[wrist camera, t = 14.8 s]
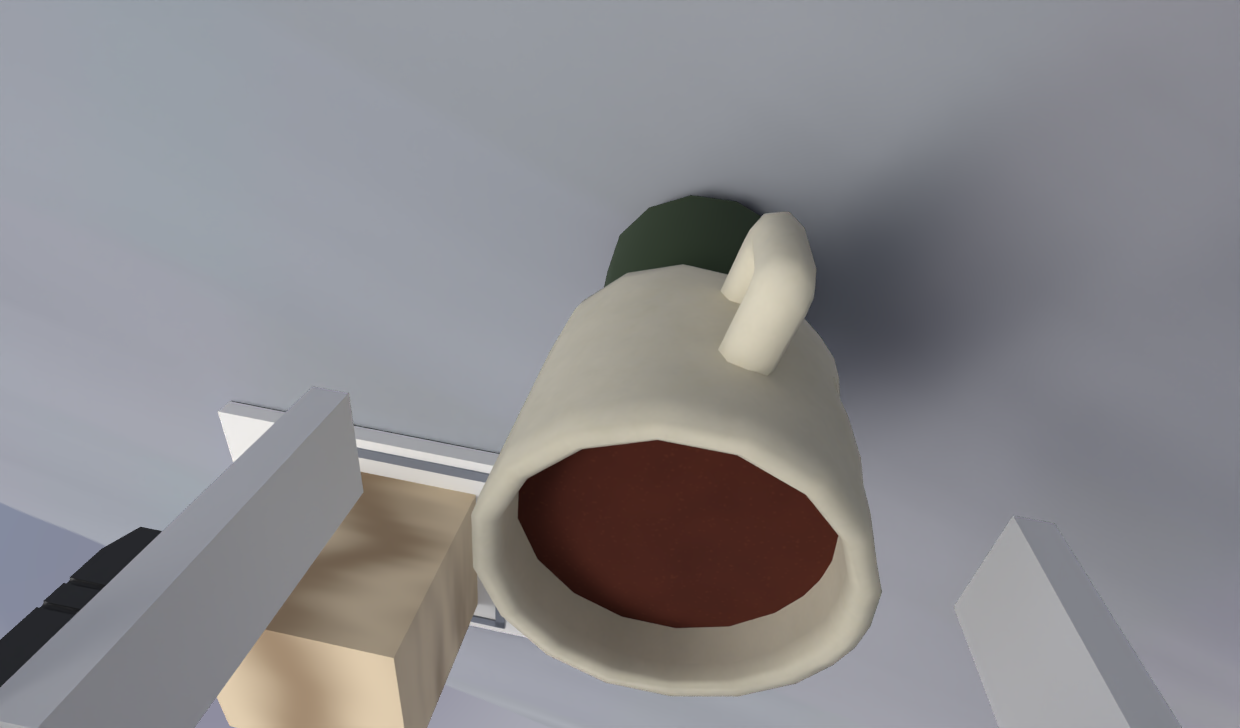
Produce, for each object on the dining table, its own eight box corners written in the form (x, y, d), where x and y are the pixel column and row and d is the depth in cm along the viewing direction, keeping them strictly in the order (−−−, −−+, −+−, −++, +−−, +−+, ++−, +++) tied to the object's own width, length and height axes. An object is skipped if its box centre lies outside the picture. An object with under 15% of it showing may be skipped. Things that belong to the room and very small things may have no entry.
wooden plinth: (475, 494, 28) (393, 657, 21) (477, 604, 32) (410, 768, 25) (308, 461, 28) (177, 610, 22) (333, 573, 33) (229, 725, 26)
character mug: (731, 424, 24) (730, 779, 14) (563, 364, 24) (426, 677, 13) (876, 164, 19) (1082, 423, 8) (657, 80, 18) (545, 225, 7)
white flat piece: (568, 467, 27) (563, 481, 26) (553, 629, 34) (549, 644, 33) (229, 401, 28) (216, 412, 27) (278, 570, 35) (268, 583, 34)
